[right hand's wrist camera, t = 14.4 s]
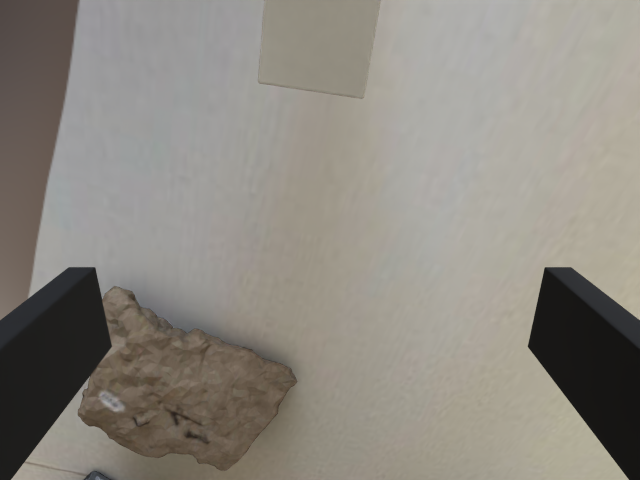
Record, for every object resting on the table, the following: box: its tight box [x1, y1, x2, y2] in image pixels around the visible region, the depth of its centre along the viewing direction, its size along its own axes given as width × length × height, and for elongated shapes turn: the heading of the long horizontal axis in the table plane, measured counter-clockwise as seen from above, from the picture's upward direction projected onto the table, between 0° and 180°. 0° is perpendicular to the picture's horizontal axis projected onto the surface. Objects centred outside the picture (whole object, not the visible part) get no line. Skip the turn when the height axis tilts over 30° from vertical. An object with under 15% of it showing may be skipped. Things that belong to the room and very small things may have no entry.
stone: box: [78, 286, 297, 471], centre depth 44 cm, size 21×15×6 cm
